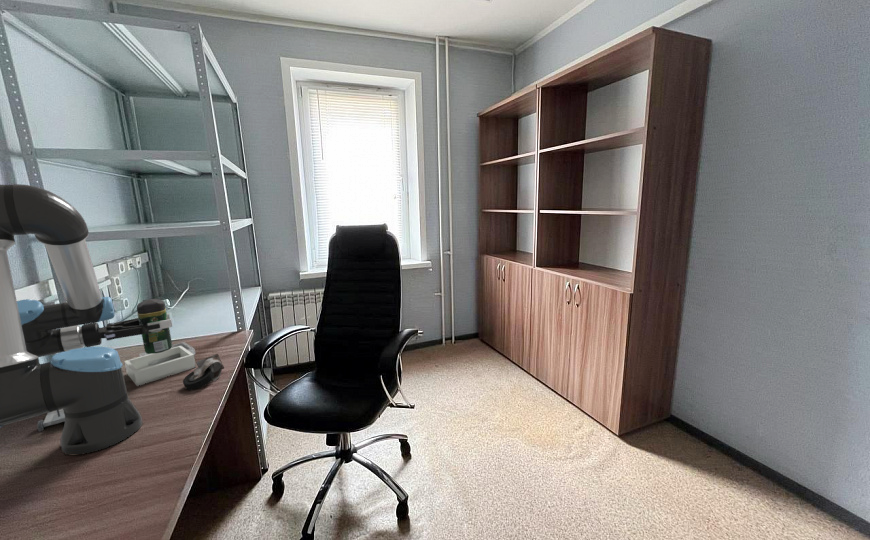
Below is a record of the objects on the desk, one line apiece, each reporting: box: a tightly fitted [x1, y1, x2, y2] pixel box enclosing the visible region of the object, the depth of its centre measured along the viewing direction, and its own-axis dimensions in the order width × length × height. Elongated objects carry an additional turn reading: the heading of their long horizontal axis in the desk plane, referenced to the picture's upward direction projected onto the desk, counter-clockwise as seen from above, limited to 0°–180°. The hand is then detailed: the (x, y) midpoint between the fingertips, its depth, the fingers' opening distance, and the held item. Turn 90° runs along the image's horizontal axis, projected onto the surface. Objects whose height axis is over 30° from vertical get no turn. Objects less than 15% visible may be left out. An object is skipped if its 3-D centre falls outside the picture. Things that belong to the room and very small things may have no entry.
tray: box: [124, 346, 197, 387], centre depth 125 cm, size 15×17×5 cm
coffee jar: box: [136, 297, 173, 354], centre depth 122 cm, size 10×8×19 cm
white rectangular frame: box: [138, 341, 196, 366], centre depth 137 cm, size 13×15×2 cm
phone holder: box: [36, 409, 65, 432], centre depth 99 cm, size 18×10×12 cm
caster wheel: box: [182, 353, 225, 391], centre depth 115 cm, size 7×11×10 cm
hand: (170, 320), depth 125 cm, fingers closed on coffee jar, 8 cm apart
